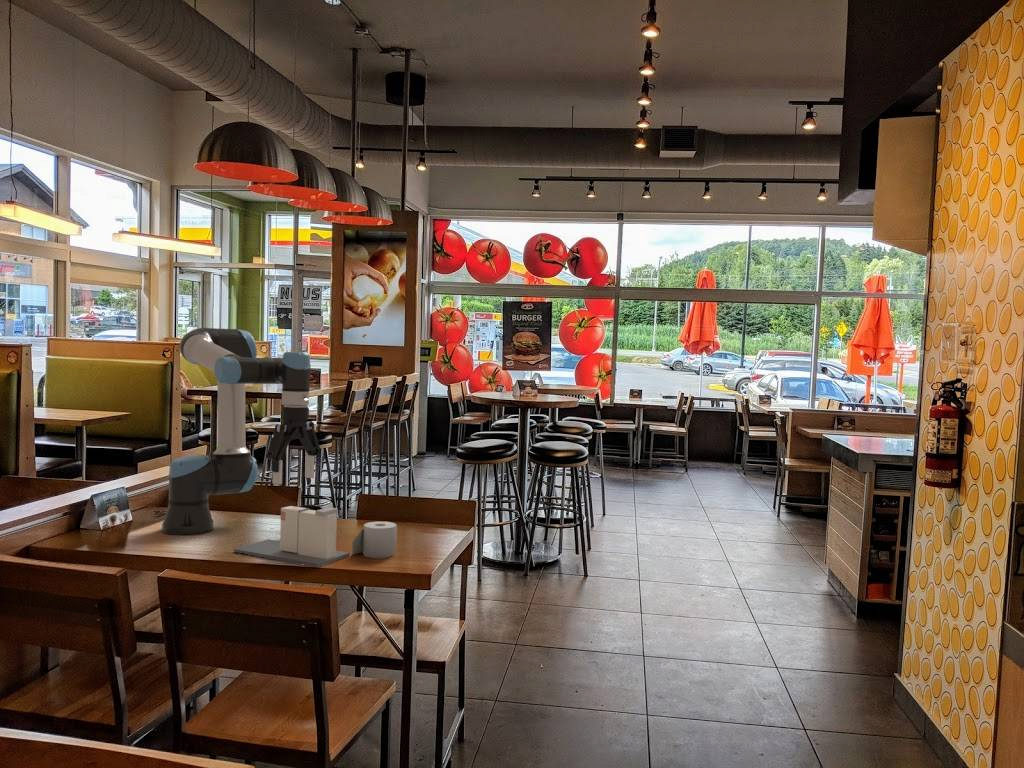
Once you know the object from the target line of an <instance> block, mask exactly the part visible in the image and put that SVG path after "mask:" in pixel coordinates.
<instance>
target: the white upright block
mask: <svg viewBox="0 0 1024 768" xmlns="http://www.w3.org/2000/svg"><path fill="white" fill-rule="evenodd" d="M303 509H307V508H301V507H297V506H294V505H289V506H284V507H280V534H279V536H280V538H279V539H280V540H279V541H280V550H283V551H288V552H294V553H298V536H299V510H303Z"/></svg>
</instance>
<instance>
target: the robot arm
mask: <svg viewBox="0 0 1024 768" xmlns="http://www.w3.org/2000/svg"><path fill="white" fill-rule="evenodd" d="M179 352H180V354H181V356H182V357H183V359H185V360H186V361H187V362H189V363H191V364H193V365H197V366H202V367H204V368H206V369H207V370H209V371H212V372H213V373H214V376H215V378H216V379H215V380H216V381H217V448H216V449H215V451H213V452H212V458H210V456H209V455H207V454H197V455H196V454H191V455H186V456H185V455H184V456H182V457H181V456H180V457H178V458H175V459H173V460H172V461H171V462H170V464H169V472H168V506H167V507H168V508H167V510H166V513H165V516H164V520H163V522H162V523H161V531H162V533H164V534H168V535H175V536H176V535H177V536H183V534H190V535H197V534H196V533H199V534H203V533H202V532H205V533H207V531H208V532H210V530H211V531H213V530H214V526H215V525H214V520H213V517H212V513H211V510H210V506H209V496H215V495H226V494H227V495H228V494H239V493H245V492H249V491H251V490H252V489H253V487H254V486H255V483H256V481H257V478H258V464H257V459H256V458H255V457H254V456H252V455H251V450H250V449H248V447H247V446H246V443H247V442H246V385H247V384H248V385H249V384H250V385H251V384H252V385H253V384H254V385H255V384H256V385H282V386H281V387H282V388H281V405H283V406H282V407H281V420H283V424H281V423H280V424H278V423H276V424H275V425H274V432H273V436H272V438H271V441H270V444H269V446H268V450H267V453H266V455H265V458H266V459H268V460H269V461H271V472H272V484H274V485H275V484H276V485H283V460H281V459H282V457H283V455H284V454H285V452H286V451H287V448H288V446H289V444H290V442H293V440H299V441H300V443H301V445H302V447H303V449H304V450H305V452H306V453H307V454H306V455H305V463H304V468H305V469H304V478H307V479H315V466H316V457H317V456H319V454H320V453H321V446H320V443H319V439H318V437H317V433H316V431H315V423H314V421H308V420H309V419H310V408H309V407H308V406H309V405H310V387H311V386H310V384H311V381H310V380H311V367H312V364H311V356H310V353H308V352H305V351H302V352H301V351H299V352H298V351H285V352H283V355H282V358H281V357H257V355H258V349H257V344H256V341H255V338H254V336H253V335H252V333H251V332H250V331H248V330H243V329H239V328H215V327H214V328H213V327H212V328H211V327H199V328H195V329H192V330H190V331H188V332H187V333H186V334H184V335H183V337H182V338H181V340H180V343H179ZM212 529H213V530H212Z"/></svg>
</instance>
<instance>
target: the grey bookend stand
mask: <svg viewBox="0 0 1024 768" xmlns="http://www.w3.org/2000/svg"><path fill="white" fill-rule="evenodd" d="M338 513H339V509H338V508H336V507H324V508H323V509H321V510H317V511H315V510H309V508H307V509H303V510H299V536H298V553H294V552H288V551H283V550H280V540H276V539H275V540H274V539H267V538H266V539H263V540H261V541H257V542H253V543H250V544H247V545H243V546H239V547H235V548H233V552H234V551H235V552H239V553H238V554H240V553H245V554H244V555H246V554H248V555H247V556H251V555H254V556H253V557H257V556H260V557H259V558H262V557H265V558H264V559H268V558H270V559H269V560H273V559H275V561H280V562H284V563H291V564H295V563H297V564H296V565H301V564H304V565H303V566H307V565H309V566H308V567H312V566H313V568H320V567H319V566H321V567H323V566H325V565H324V564H326V565H328V564H327V563H329V564H331V563H330V562H332V563H334V562H333V561H335V562H337V561H340V560H342V558H343V559H345V557H346V558H348V556H349V557H350V553H351V552H347V551H341V550H337V528H338V527H337V525H338V523H337V522H338ZM339 559H340V560H339ZM336 560H337V561H336ZM322 565H323V566H322Z"/></svg>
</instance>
